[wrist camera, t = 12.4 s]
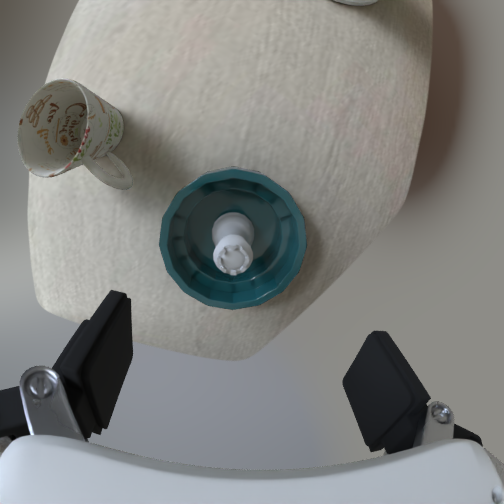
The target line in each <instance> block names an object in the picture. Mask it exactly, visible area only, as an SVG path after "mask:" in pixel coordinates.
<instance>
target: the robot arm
mask: <svg viewBox="0 0 504 504" xmlns="http://www.w3.org/2000/svg"><path fill="white" fill-rule="evenodd" d="M334 1H337V2H340V3H344V4H349V5H355V6H364V5H370V4H373V3H375V2H377V1H378V0H334ZM132 356H133V345H132V320H131V299H130V298H127V295H126V293H122V292H118V291H114V290H111V291H110V292H109V293H108V295H107V296H106V297H105V299H104V300H103V302H102V303H101V304H100V306H99V307H98V309H97V310H96V311H95V313H94V314H93V316H92V317H91V319H90V320H87V319H86V320H84V321H83V322H82V323H81V325H80V326H79V328H78V329H77V331H76V332H75V334H74V335H73V336H72V338H71V339H70V341H69V342H68V344H67V345H66V347H65V348H64V350H63V352H62V353H61V355H60V356H59V358H58V359H57V361H56V363H55V364H54V366H53V367H52V369H51V368H49V367H45V366H35V367H31V368H29V369H28V370H26V371H25V372H24V373H23V375H22V376H21V379H20V386H17V387H13V388H9V389H4V390H0V504H504V464H503V463H502V462H501V461H499V460H498V459H497V458H496V457H494V456H493V455H492V454H491V453H490V452H489V451H487V450H486V449H485V448H483V445H482V442H481V438H480V437H479V436H478V435H476V434H474V433H473V432H470V431H468V430H466V429H464V428H462V427H460V426H458V425H456V424H454V415H453V412H452V411H451V409H450V408H449V407H448V406H447V405H445V404H444V403H442V402H437V401H435V402H432V403H431V404H430V405H429V406H427V404H426V403H427V402H428V401H429V400H430V399H431V398H430V396H429V394H428V393H427V391H426V390H425V388H424V387H423V385H422V383H421V382H420V380H419V379H418V377H417V375H416V374H415V372H414V371H413V369H412V368H411V367H410V365H409V364H408V362H407V360H406V359H405V357H404V356H403V354H402V353H401V351H400V350H399V348H398V347H397V346H396V344H395V343H394V341H393V340H392V338H391V337H390V336H389V334H388V333H387V332H386V331H373V332H372V333H371V334H369V335H368V336H367V338H366V340H365V342H364V344H363V346H362V347H361V349H360V351H359V353H358V354H357V356H356V358H355V360H354V361H353V363H352V365H351V366H350V368H349V370H348V371H347V373H346V375H345V376H344V378H343V387H344V389H345V392H346V395H347V397H348V400H349V402H350V405H351V407H352V410H353V412H354V415H355V418H356V420H357V423H358V426H359V428H360V431H361V433H362V436H363V439H364V442H365V444H366V445H367V446H369V449H370V451H371V452H374V451H378V450H381V449H383V448H385V452H384V455H383V456H381V457H377V458H372V459H367V460H362V461H357V462H351V463H346V464H339V465H332V466H324V467H316V468H315V467H314V468H303V469H287V470H240V469H239V470H238V469H223V468H211V467H202V466H193V465H187V464H180V463H175V462H169V461H163V460H157V459H153V458H148V457H143V456H139V455H135V454H131V453H127V452H123V451H120V450H116V449H112V448H108V447H104V446H101V445H97V444H93V443H89V441H88V439H87V438H90V437H91V433H92V432H93V433H96V434H99V435H100V434H101V431H102V428H104V429H107V427H108V425H109V422H110V419H111V416H112V413H113V410H114V407H115V404H116V402H117V399H118V396H119V393H120V390H121V388H122V385H123V382H124V379H125V376H126V374H127V371H128V369H129V366H130V364H131V361H132Z"/></svg>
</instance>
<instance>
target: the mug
mask: <svg viewBox="0 0 504 504" xmlns="http://www.w3.org/2000/svg"><path fill="white" fill-rule="evenodd" d="M123 128H124V125H123V119H122V116H121V114H120V112H119V111H118V110H117V109H116V108H115V107H113V106H112V105H111V104H109V103H108V102H106V101H105V100H103V99H102V98H100V97H99V96H97V95H96V94H95V93H93V92H92V91H90V90H89V89H87V88H86V87H84V86H83V85H81V84H80V83H78V82H76V81H73V80H71V79H56V80H53V81H51V82H49V83H47V84H45V85H44V86H42V87H41V88H40V89H39V90H38V91H37V92H36V93H35V94H34V95H33V96H32V98H31V99H30V100H29V102H28V104H27V105H26V107H25V109H24V111H23V114H22V116H21V120H20V123H19V129H18V149H19V153H20V156H21V159H22V161H23V163H24V165H25V166H26V167H27V169H28V170H29V171H30V172H31V173H33V174H35V175H37V176H39V177H54V176H57V175H60V174H62V173H65V172H67V171H69V170H71V169H73V168H76V167H78V166H80V165H83V164H84V165H85V166H86V167H87V168H88V170H89V171H90V172H91V173H92V174H93V175H95V176H96V177H97V178H98V179H99V180H101V181H102V182H104V183H105V184H107V185H109V186H112V187H114V188H117V189H122V190H127V189H129V188H131V187H132V185H133V177H132V175H131V174H130V172H129V170H128V168H127V166H126V165H125V164H124V163H123V162H122V161H121V160H120V159H119V158H118V157H116V156H115V155H114V154H113V153H111V151H112V150H114V149H115V147H116V146H117V145H118V143H119V142H120V140H121V137H122V134H123ZM105 155H107V156H108V157H109V159H110V160H111V161H112V162H113V163H114V164H115V166H116V167H117V168H118V170H119V171H120V172H121V174H122V176H123V178H117V177H115V176H113V175H110V174H109V173H107V172H106V171H104V170H103V169H102V168H101V167H100V166H99V165H98V164H97V163H96V162H95V161H94V160H95V159H97V158H100V157H102V156H105Z"/></svg>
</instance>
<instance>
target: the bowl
mask: <svg viewBox="0 0 504 504" xmlns="http://www.w3.org/2000/svg"><path fill="white" fill-rule="evenodd" d="M227 213H240V214H242V215H245V216H246V217H247V218H248V219H249V220H250V221H251V222H252V225H253V227H254V240H253V243H252V245H251V249H252V251H253V260H252V263H251V265H250V267H249V268H247V269H246V270H245V271H244V272H243V273H242V272H241V273H239V274H237V275H230V274H228V273H224V272H222V271H221V270H220V269H219V268H218V267H217V266H216V264H215V262H214V256H213V253H214V250H215V248H216V246H215V244H214V242H213V240H212V228H213V226H214V223H215V221H216V220H217V219H218V218H219V217H220V216H222V215H224V214H227ZM159 247H160V250H161V254H162V257H163V260H164V263H165V267H166V270H167V272H168V273H169V275H170V276H171V277H172V278H173V280H174V281H175V282H176V283H177V284H178V286H179V287H180V288H181V289H182V290H183V292H185V293H186V294H188V295H190V296H191V297H193V298H195V299H197V300H198V301H200V302H202V303H204V304H205V305H207V306H212V307H218V308H224V309H230V310H233V309H234V310H235V309H241V308H247V307H252V306H258V305H261V304H262V303H264V302H266V301H268V300H269V299H271V298H273V297H275V296H276V295H278V294H280V293H282V292H283V291H284V290H285V288H286V287H287V286H288V285H289V284H290V282H291V281H292V280H293V279H294V277H295V276H296V275H297V274H298V273H299V271H300V267H301V264H302V261H303V258H304V254H305V251H306V248H307V239H306V230H305V222H304V217H303V215H302V213H301V212H300V210H299V208H298V207H297V205H296V203H295V202H294V200H293V198H292V196H291V195H290V193H289V192H288V191H286V190H285V189H284V188H282V187H281V186H280V185H278V184H277V183H275V182H274V181H273V180H271V179H270V178H268V177H267V176H265V175H264V174H263V173H261V172H259V171H255V170H250V169H245V168H241V167H236V166H231V167H226V168H221V169H216V170H211V171H207V172H206V173H204V174H203V175H201V176H200V177H198V178H197V179H195V180H194V181H193V182H191V183H190V184H188V185H187V186H185V187H184V188H183V189H181V190H180V191H179V192H178V193H177V194H176V196H175V197H174V199H173V200H172V202H171V204H170V205H169V207H168V209H167V211H166V212H165V214H164V216H163V218H162V224H161V232H160V241H159Z"/></svg>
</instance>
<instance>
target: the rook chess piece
mask: <svg viewBox="0 0 504 504" xmlns="http://www.w3.org/2000/svg"><path fill="white" fill-rule="evenodd" d="M212 240H213V242H214V244H215V246H216V248H215V250H214V253H213V256H214V262H215V264H216V266H217V267H218V268H219V269H220V270H221V271H222V272H224V273H228V274H230V275H237V274H239V273H241V272H242V273H243V272H244V271H245V270H246V269H247V268H249V267H250V265H251V263H252V260H253V251H252V249H251V245H252V243H253V240H254V227H253V225H252V222H251V221H250V220H249V219H248V218H247V217H246V216H245V215H242V214H240V213H227V214H224V215H222V216H220V217H219V218H218V219H217V220H216V221H215V223H214V226H213V228H212Z"/></svg>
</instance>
